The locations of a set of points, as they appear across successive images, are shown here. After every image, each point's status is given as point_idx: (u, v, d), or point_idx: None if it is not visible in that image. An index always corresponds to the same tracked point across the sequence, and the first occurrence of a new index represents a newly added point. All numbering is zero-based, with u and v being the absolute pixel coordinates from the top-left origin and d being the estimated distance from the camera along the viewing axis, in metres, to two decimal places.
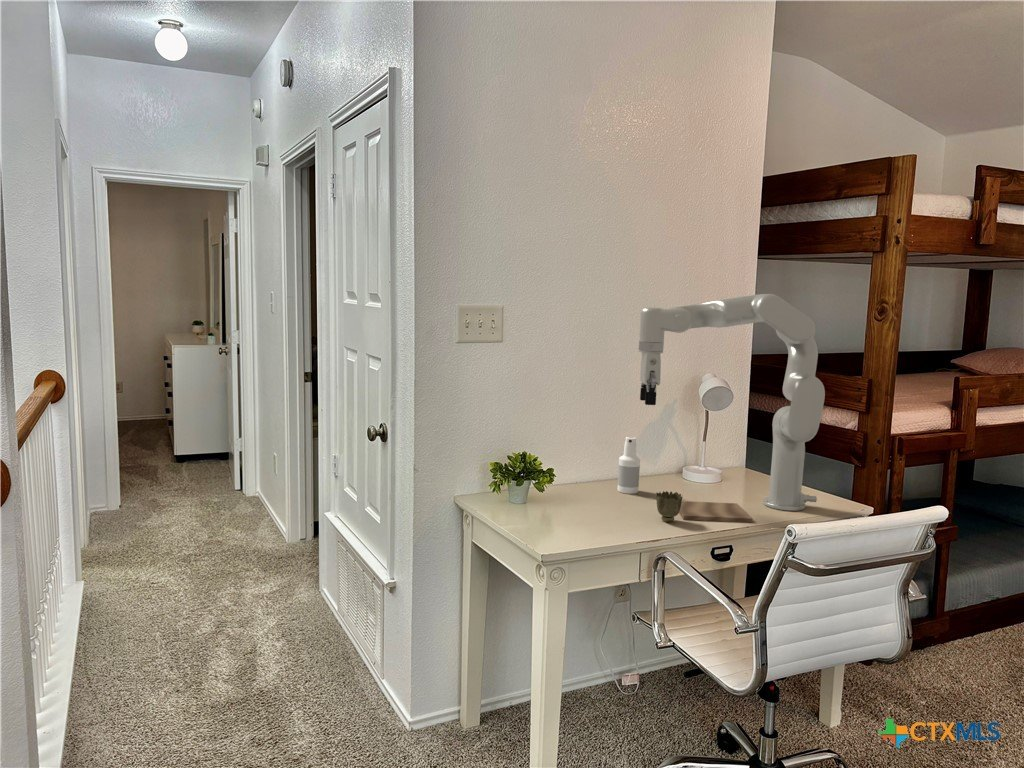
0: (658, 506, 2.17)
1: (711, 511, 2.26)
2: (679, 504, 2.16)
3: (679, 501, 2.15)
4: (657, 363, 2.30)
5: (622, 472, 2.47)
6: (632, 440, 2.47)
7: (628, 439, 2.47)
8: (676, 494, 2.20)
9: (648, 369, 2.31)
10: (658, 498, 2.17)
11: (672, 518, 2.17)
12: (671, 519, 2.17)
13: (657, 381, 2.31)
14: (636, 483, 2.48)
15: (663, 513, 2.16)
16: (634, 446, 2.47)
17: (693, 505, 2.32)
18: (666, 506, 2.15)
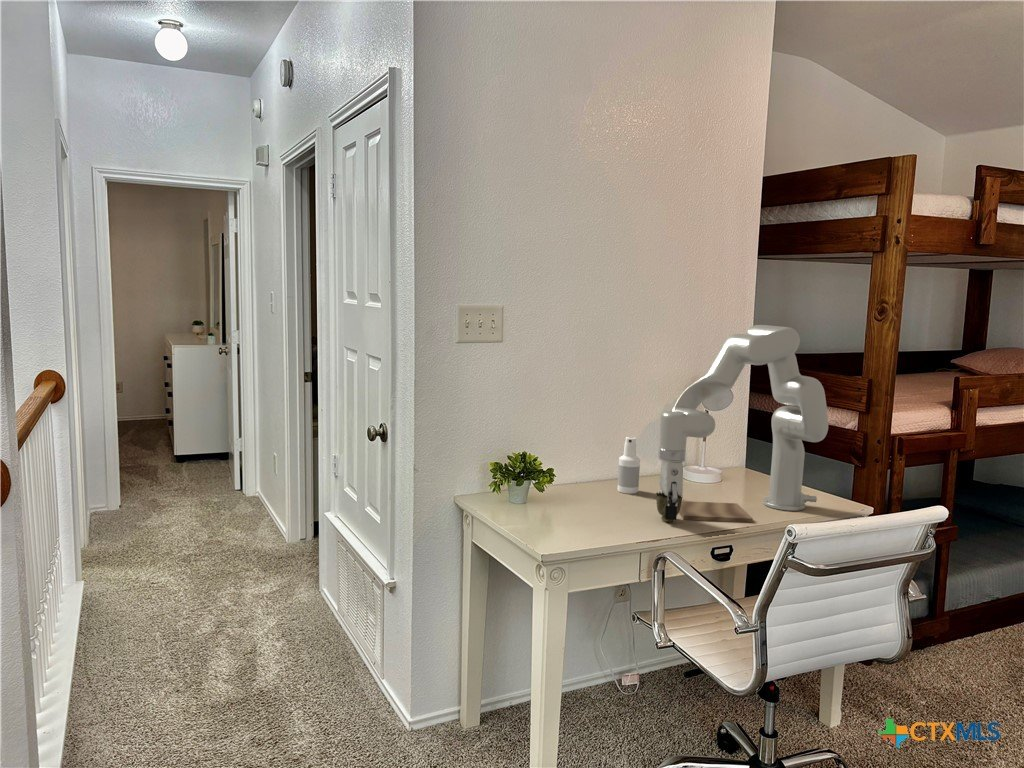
0: (658, 506, 2.17)
1: (711, 511, 2.26)
2: (679, 504, 2.16)
3: (679, 501, 2.15)
4: (679, 473, 2.12)
5: (622, 472, 2.47)
6: (632, 440, 2.47)
7: (628, 439, 2.47)
8: None
9: (669, 480, 2.12)
10: (658, 498, 2.17)
11: None
12: None
13: (679, 493, 2.13)
14: (636, 483, 2.48)
15: (663, 513, 2.16)
16: (634, 446, 2.47)
17: (693, 505, 2.32)
18: None
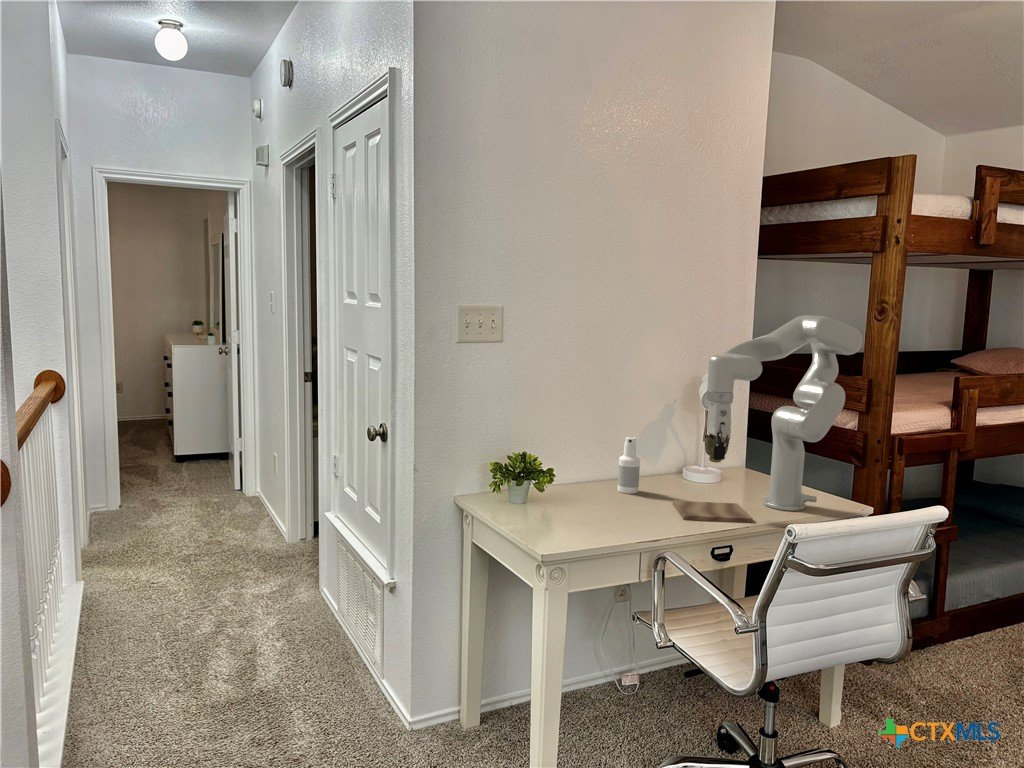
0: (706, 447, 2.25)
1: (711, 511, 2.26)
2: (727, 444, 2.24)
3: (727, 441, 2.23)
4: (727, 414, 2.20)
5: (622, 472, 2.47)
6: (632, 440, 2.47)
7: (628, 439, 2.47)
8: None
9: (718, 420, 2.20)
10: (706, 439, 2.25)
11: None
12: None
13: (727, 433, 2.21)
14: (636, 483, 2.48)
15: (711, 453, 2.24)
16: (634, 446, 2.47)
17: (693, 505, 2.32)
18: None
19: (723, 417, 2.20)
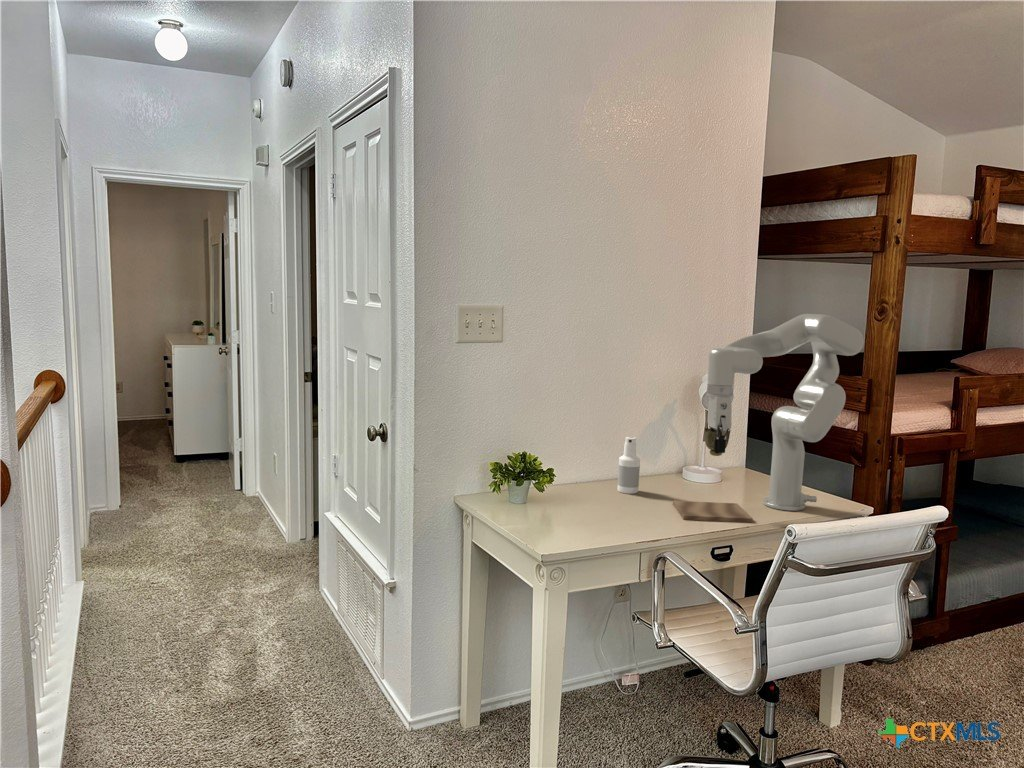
0: (707, 440, 2.25)
1: (711, 511, 2.26)
2: (727, 438, 2.24)
3: (727, 435, 2.23)
4: (728, 407, 2.20)
5: (622, 472, 2.47)
6: (632, 440, 2.47)
7: (628, 439, 2.47)
8: None
9: (718, 414, 2.20)
10: (707, 432, 2.24)
11: None
12: (719, 453, 2.25)
13: (728, 426, 2.20)
14: (636, 483, 2.48)
15: (712, 447, 2.24)
16: (634, 446, 2.47)
17: (693, 505, 2.32)
18: None
19: (723, 410, 2.20)
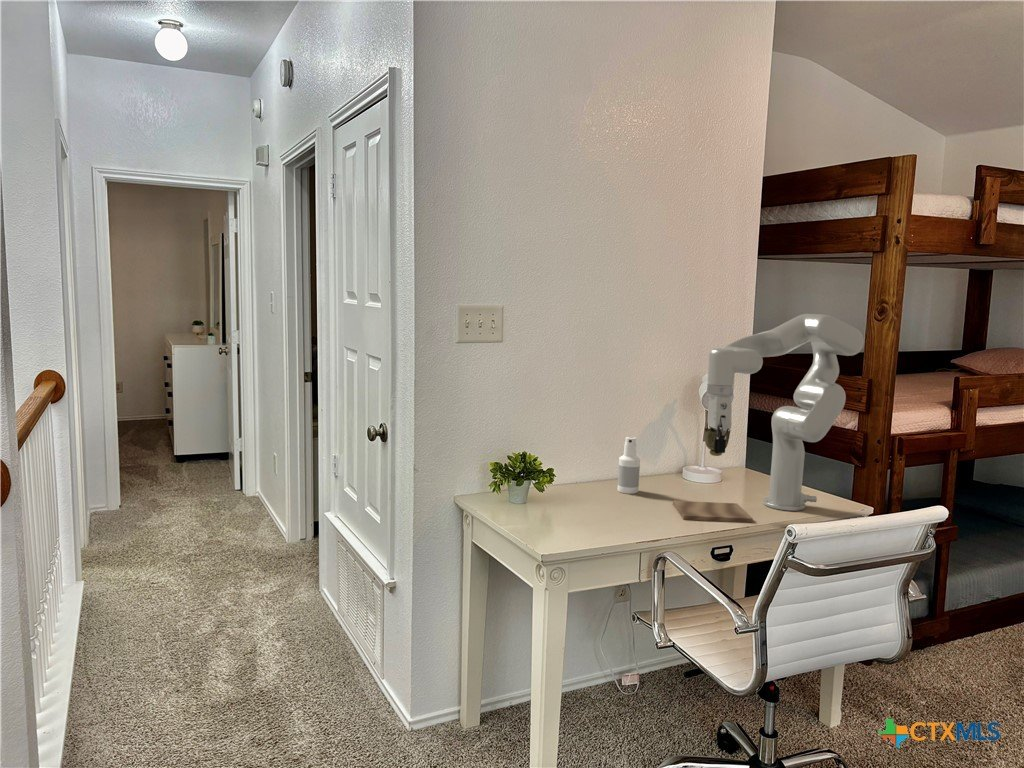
0: (707, 440, 2.25)
1: (711, 511, 2.26)
2: (727, 438, 2.24)
3: (727, 435, 2.23)
4: (728, 407, 2.20)
5: (622, 472, 2.47)
6: (632, 440, 2.47)
7: (628, 439, 2.47)
8: None
9: (718, 414, 2.20)
10: (707, 432, 2.24)
11: None
12: (719, 453, 2.25)
13: (728, 426, 2.20)
14: (636, 483, 2.48)
15: (712, 447, 2.24)
16: (634, 446, 2.47)
17: (693, 505, 2.32)
18: None
19: (723, 410, 2.20)
